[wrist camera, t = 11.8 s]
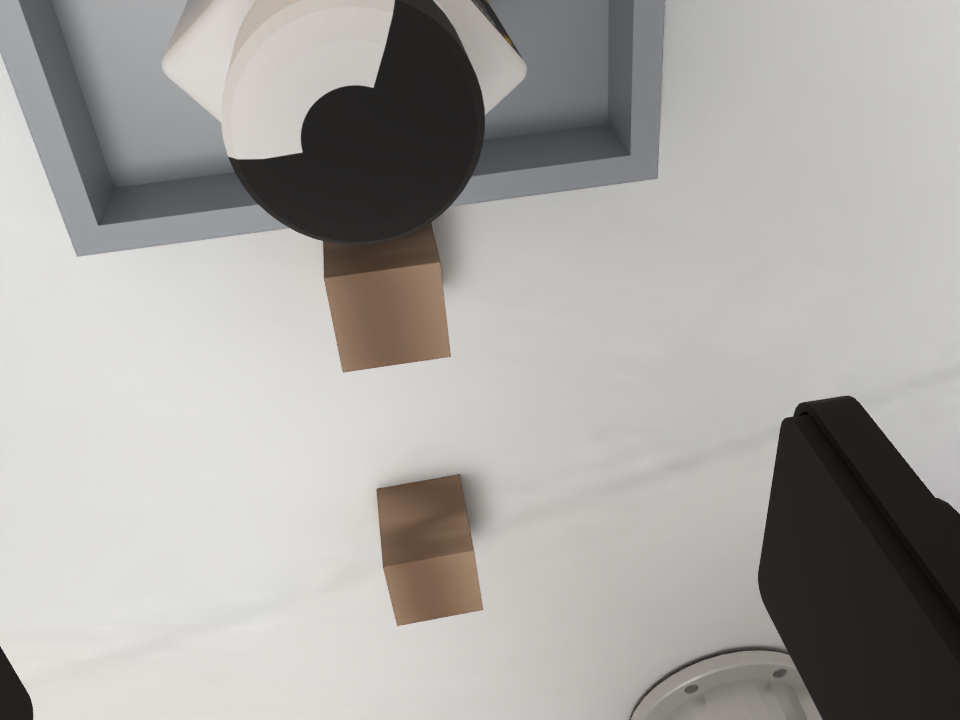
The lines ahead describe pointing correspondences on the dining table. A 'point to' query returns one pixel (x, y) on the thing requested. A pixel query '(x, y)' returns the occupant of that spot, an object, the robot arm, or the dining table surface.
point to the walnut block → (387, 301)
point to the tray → (198, 135)
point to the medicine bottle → (347, 104)
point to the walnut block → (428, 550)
